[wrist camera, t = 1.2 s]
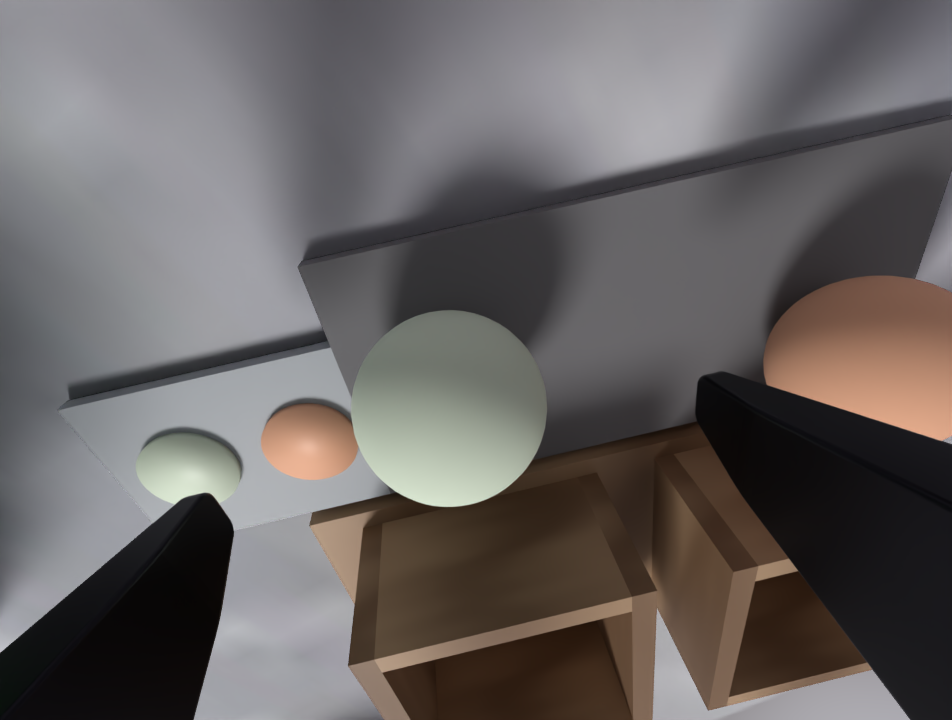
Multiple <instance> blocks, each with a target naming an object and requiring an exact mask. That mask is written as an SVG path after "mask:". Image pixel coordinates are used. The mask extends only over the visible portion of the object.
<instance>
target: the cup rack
mask: <svg viewBox="0 0 952 720" xmlns="http://www.w3.org/2000/svg"><path fill="white" fill-rule="evenodd" d="M309 526H310V528H311V530H312V531H313V533H314V535H315V537H316V538H317V540H318V542H319V543H320V545H321V547H322V549H323V550H324V552H325V554H326V556H327V557H328V559H329V561H330V563H331V564H332V566H333V568H334V569H335V571H336V573H337V575H338V576H339V578H340V580H341V582H342V583H343V585H344V587H345V589H346V590H347V592H348V594H349V595H350V597H351V599H352V601H353V602H354V604H355V607H354V616H353V625H352V635H351V644H350V653H349V663H348V667H349V668H350V670H351V671H352V673H353V674H354V676H355V677H356V679H357V680H358V681H359V683H360V684H361V686H362V687H363V689H364V690H365V692H366V693H367V695H368V696H369V698H370V699H371V701H372V702H373V704H374V705H375V707H376V708H377V710H378V711H379V713H380V714H381V716H382V717H383V719H384V720H652V716H653V691H654V665H655V640H656V614H657V608H658V610H659V612H660V614H661V617H662V619H663V621H664V623H665V625H666V627H667V629H668V631H669V633H670V635H671V637H672V639H673V641H674V643H675V645H676V647H677V649H678V651H679V653H680V655H681V657H682V659H683V661H684V663H685V665H686V667H687V669H688V671H689V673H690V675H691V677H692V679H693V681H694V683H695V685H696V687H697V689H698V691H699V693H700V695H701V697H702V699H703V701H704V703H705V705H706V707H707V709H708V711H709V710H713V709H717V708H721V707H725V706H729V705H733V704H737V703H741V702H745V701H749V700H753V699H757V698H761V697H765V696H769V695H773V694H777V693H781V692H785V691H789V690H793V689H797V688H801V687H804V686H809V685H813V684H816V683H821V682H825V681H828V680H833V679H836V678H841V677H845V676H849V675H852V674H857V673H860V672H864V671H869V670H872V668H871V667H870V666H869V664H868V663H867V662H866V660H865V659H864V658H863V656H862V655H861V654H860V652H859V651H858V650H857V648H856V647H855V646H854V644H853V643H852V642H851V640H850V639H849V638H848V636H847V635H846V634H845V632H844V631H843V630H842V628H841V627H840V626H839V625H838V623H837V622H836V621H835V619H834V618H833V617H832V615H831V614H830V613H829V611H828V610H827V609H826V607H825V606H824V605H823V603H822V602H821V601H820V599H819V598H818V597H817V595H816V594H815V593H814V591H813V590H812V589H811V587H810V586H809V585H808V583H807V582H806V581H805V579H804V578H803V577H802V575H801V574H800V573H799V571H798V570H797V569H796V567H795V566H794V565H793V563H792V562H791V561H790V559H789V558H788V557H787V556H786V554H785V553H784V552H783V550H782V549H781V548H780V546H779V545H778V544H777V542H776V541H775V540H774V538H773V537H772V536H771V534H770V533H769V532H768V530H767V529H766V528H765V526H764V525H763V524H762V522H761V521H760V520H759V518H758V517H757V516H756V514H755V513H754V512H753V510H752V509H751V508H750V506H749V505H748V504H747V502H746V501H745V499H744V498H743V497H742V495H741V494H740V492H739V491H738V489H737V488H736V486H735V484H734V483H733V481H732V480H731V478H730V476H729V475H728V473H727V471H726V470H725V468H724V466H723V465H722V463H721V461H720V460H719V458H718V456H717V455H716V453H715V451H714V450H713V448H712V446H711V445H710V443H709V441H708V439H707V438H706V436H705V434H704V433H703V431H702V429H701V428H700V426H699V424H698V422H697V421H696V422H692V423H688V424H683V425H679V426H675V427H671V428H666V429H662V430H658V431H654V432H650V433H645V434H641V435H637V436H633V437H628V438H624V439H620V440H616V441H612V442H607V443H603V444H599V445H595V446H590V447H586V448H582V449H578V450H573V451H569V452H565V453H561V454H557V455H552V456H548V457H544V458H540V459H535V460H532V461H531V462H530V464H529V466H528V467H527V468H526V470H525V471H524V472H523V473H522V474H521V475H520V476H519V477H518V478H517V479H516V480H515V481H514V482H513V483H512V484H511V485H509V486H508V487H507V488H506V489H504V490H503V491H501V492H500V493H498V494H496V495H494V496H492V497H490V498H488V499H486V500H483V501H481V502H477V503H474V504H470V505H464V506H456V507H440V506H432V505H427V504H423V503H420V502H416V501H414V500H412V499H409V498H407V497H405V496H403V495H401V494H399V493H397V492H396V493H392V494H388V495H383V496H379V497H375V498H371V499H366V500H362V501H358V502H354V503H349V504H345V505H341V506H337V507H333V508H328V509H324V510H320V511H316V512H313V513H312V517H311V521H310V525H309Z"/></svg>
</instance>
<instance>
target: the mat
mask: <svg viewBox="0 0 952 720" xmlns="http://www.w3.org/2000/svg"><path fill="white" fill-rule="evenodd" d="M951 172H952V115H948V116H944V117H939V118H935V119H931V120H926V121H922V122H917V123H913V124H908V125H904V126H899V127H895V128H891V129H886V130H882V131H877V132H873V133H868V134H864V135H860V136H855V137H851V138H846V139H842V140H837V141H833V142H829V143H824V144H820V145H815V146H811V147H806V148H802V149H798V150H793V151H789V152H784V153H780V154H775V155H771V156H767V157H762V158H758V159H753V160H749V161H744V162H740V163H735V164H731V165H727V166H722V167H718V168H713V169H709V170H704V171H700V172H696V173H691V174H687V175H682V176H678V177H673V178H669V179H665V180H660V181H656V182H651V183H647V184H642V185H638V186H634V187H629V188H625V189H620V190H616V191H611V192H607V193H602V194H598V195H594V196H589V197H585V198H580V199H576V200H571V201H567V202H563V203H558V204H554V205H549V206H545V207H540V208H536V209H532V210H527V211H523V212H518V213H514V214H509V215H505V216H501V217H496V218H492V219H487V220H483V221H478V222H474V223H470V224H465V225H461V226H456V227H452V228H447V229H443V230H438V231H434V232H430V233H425V234H421V235H416V236H412V237H407V238H403V239H399V240H394V241H390V242H385V243H381V244H376V245H372V246H368V247H363V248H359V249H354V250H350V251H345V252H341V253H337V254H332V255H328V256H323V257H319V258H314V259H310V260H306V261H301V263H300V264H299V266H298V269H299V272H300V274H301V276H302V279H303V281H304V284H305V286H306V289H307V291H308V294H309V296H310V298H311V301H312V303H313V306H314V308H315V311H316V313H317V315H318V318H319V320H320V323H321V325H322V328H323V330H324V333H325V335H326V337H327V340H328V342H329V345H330V347H331V350H332V352H333V354H334V357H335V359H336V362H337V364H338V367H339V369H340V371H341V374H342V376H343V379H344V381H345V384H346V386H347V389H348V391H349V393H350V396H351V398H352V393H353V387H354V384H355V381H356V378H357V375H358V372H359V369H360V367H361V365H362V363H363V361H364V359H365V358H366V356H367V355H368V353H369V352H370V351H371V349H372V348H373V346H374V345H375V344H376V343H377V342H378V341H379V340H380V339H381V338H382V337H383V336H384V335H385V334H387V333H388V332H389V331H390V330H392V329H393V328H394V327H396V326H397V325H399V324H401V323H402V322H404V321H406V320H408V319H410V318H413V317H415V316H418V315H421V314H425V313H428V312H434V311H442V310H456V311H465V312H470V313H475V314H478V315H481V316H484V317H486V318H489V319H491V320H493V321H495V322H497V323H499V324H501V325H502V326H503V327H505V328H506V329H508V330H509V331H510V332H511V333H513V334H514V335H515V336H516V337H517V338H518V339H519V340H520V341H521V342H522V343H523V344H524V345H525V347H526V348H527V349H528V351H529V352H530V354H531V355H532V357H533V358H534V360H535V362H536V364H537V366H538V368H539V371H540V373H541V376H542V379H543V381H544V386H545V391H546V398H547V416H546V425H545V430H544V434H543V437H542V440H541V443H540V446H539V448H538V450H537V453H536V454H535V456H534V458H533V459H532V460H535V459H540V458H544V457H548V456H552V455H557V454H561V453H565V452H569V451H573V450H578V449H582V448H586V447H590V446H595V445H599V444H603V443H607V442H612V441H616V440H620V439H624V438H628V437H633V436H637V435H641V434H645V433H650V432H654V431H658V430H662V429H666V428H671V427H675V426H679V425H683V424H688V423H692V422H696V421H697V420H696V416H695V404H696V392H697V382H698V380H699V378H700V377H701V376H703V375H706V374H710V373H715V372H719V371H725V372H728V373H731V374H734V375H738V376H741V377H744V378H747V379H750V380H753V381H756V382H759V383H762V384H766V380H765V376H764V366H763V358H764V351H765V347H766V343H767V340H768V337H769V335H770V333H771V331H772V329H773V328H774V326H775V324H776V323H777V321H778V320H779V319H780V318H781V316H782V315H783V314H784V313H785V312H786V311H787V310H788V309H789V308H790V307H791V306H792V305H793V304H795V303H796V302H797V301H799V300H800V299H801V298H803V297H805V296H806V295H808V294H810V293H812V292H813V291H815V290H817V289H819V288H821V287H824V286H826V285H829V284H832V283H835V282H839V281H842V280H846V279H850V278H856V277H864V276H898V277H905V278H912V279H915V277H916V275H917V272H918V269H919V266H920V263H921V260H922V257H923V254H924V251H925V248H926V245H927V242H928V239H929V236H930V233H931V230H932V227H933V224H934V222H935V219H936V216H937V213H938V210H939V207H940V204H941V201H942V198H943V195H944V192H945V189H946V186H947V183H948V180H949V177H950V174H951ZM350 346H351V347H350ZM347 350H348V351H347ZM349 351H350V352H349ZM336 355H337V356H336ZM356 356H357V357H356ZM341 358H342V359H341ZM349 359H350V361H349ZM358 363H359V364H358ZM340 364H341V365H340ZM355 364H356V365H355ZM351 368H352V369H351ZM346 381H347V382H346ZM348 385H349V386H348ZM766 385H767V384H766ZM387 486H388V485H387ZM388 488H389V491H390V493H391V494H392V493H396V491H394V490H393V489H392V488H390V487H389V486H388Z"/></svg>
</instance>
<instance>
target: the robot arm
mask: <svg viewBox="0 0 952 720" xmlns="http://www.w3.org/2000/svg"><path fill="white" fill-rule="evenodd" d="M695 416H696V420H697V422H698V424H699V426H700V428H701V429H702V431H703V433H704V434H705V436H706V438H707V439H708V441H709V443H710V445H711V446H712V448H713V450H714V451H715V453H716V455H717V456H718V458H719V460H720V461H721V463H722V465H723V466H724V468H725V470H726V471H727V473H728V475H729V476H730V478H731V480H732V481H733V483H734V484H735V486H736V488H737V489H738V491H739V492H740V494H741V495H742V497H743V498H744V499H745V501H746V502H747V504H748V505H749V506H750V508H751V509H752V510H753V512H754V513H755V514H756V516H757V517H758V518H759V520H760V521H761V522H762V524H763V525H764V526H765V528H766V529H767V530H768V532H769V533H770V534H771V536H772V537H773V538H774V540H775V541H776V542H777V544H778V545H779V546H780V548H781V549H782V550H783V552H784V553H785V554H786V556H787V557H788V558H789V559H790V561H791V562H792V563H793V565H794V566H795V567H796V569H797V570H798V571H799V573H800V574H801V575H802V577H803V578H804V579H805V581H806V582H807V583H808V585H809V586H810V587H811V589H812V590H813V591H814V593H815V594H816V595H817V597H818V598H819V599H820V601H821V602H822V603H823V605H824V606H825V607H826V609H827V610H828V611H829V613H830V614H831V615H832V617H833V618H834V619H835V621H836V622H837V623H838V625H839V626H840V627H841V628H842V630H843V631H844V632H845V634H846V635H847V636H848V638H849V639H850V640H851V642H852V643H853V644H854V646H855V647H856V648H857V650H858V651H859V652H860V654H861V655H862V656H863V658H864V659H865V660H866V662H867V663H868V664H869V666H870V667H871V668H872V670H873V671H874V672H875V674H876V675H877V676H878V678H879V679H880V680H881V681H882V683H883V684H884V686H885V687H886V688H887V689H888V691H889V692H890V693H891V695H892V696H893V697H894V699H895V700H896V701H897V703H898V704H899V705H900V707H901V708H902V709H903V711H904V712H905V713H906V715H907V716H908V717H909V719H910V720H952V444H950V443H946V442H943V441H940V440H937V439H934V438H931V437H928V436H925V435H921V434H918V433H915V432H912V431H909V430H906V429H903V428H900V427H897V426H893V425H890V424H887V423H884V422H881V421H878V420H875V419H872V418H868V417H865V416H862V415H859V414H856V413H853V412H850V411H847V410H844V409H840V408H837V407H834V406H831V405H828V404H825V403H822V402H819V401H815V400H812V399H809V398H806V397H803V396H800V395H797V394H794V393H791V392H787V391H784V390H781V389H778V388H775V387H772V386H769V385H766V384H762V383H759V382H756V381H753V380H750V379H747V378H744V377H741V376H738V375H734V374H731V373H728V372H725V371H719V372H715V373H710V374H706V375H703V376H701V377H700V378H699V380H698V382H697V392H696V404H695ZM233 537H234V528H233V524H232V522H231V520H230V518H229V517H228V515H227V514H226V513H225V511H224V510H223V508H222V507H221V506H220V504H219V503H218V501H217V500H216V499H215V497H214V496H213V495H212V494H210V493H200V494H196V495H191V496H187V497H185V498H183V499H181V500H180V501H179V502H177V503H176V504H175V505H174V506H173V507H171V508H170V509H169V510H168V511H167V512H166V513H164V514H163V515H162V516H161V517H160V518H159V519H157V520H156V521H155V522H154V523H153V524H151V525H150V526H149V527H148V528H147V529H146V530H144V531H143V532H142V533H141V534H140V535H138V536H137V537H136V538H135V539H134V540H133V541H131V542H130V543H129V544H128V545H127V546H126V547H124V548H123V549H122V550H121V551H120V552H118V553H117V554H116V555H115V556H114V557H113V558H111V559H110V560H109V561H108V562H107V563H106V564H104V565H103V566H102V567H101V568H100V569H98V570H97V571H96V572H95V573H94V574H93V575H91V576H90V577H89V578H88V579H87V580H85V581H84V582H83V583H82V584H81V585H80V586H78V587H77V588H76V589H75V590H74V591H73V592H71V593H70V594H69V595H68V596H67V597H65V598H64V599H63V600H62V601H61V602H60V603H58V604H57V605H56V606H55V607H54V608H53V609H51V610H50V611H49V612H48V613H47V614H45V615H44V616H43V617H42V618H41V619H40V620H38V621H37V622H36V623H35V624H34V625H32V626H31V627H30V628H29V629H28V630H27V631H25V632H24V633H23V634H22V635H21V636H20V637H18V638H17V639H16V640H15V641H14V642H12V643H11V644H10V645H9V646H8V647H7V648H5V649H4V650H3V651H2V652H1V653H0V720H194V716H195V712H196V708H197V705H198V701H199V697H200V693H201V690H202V686H203V682H204V678H205V675H206V671H207V667H208V663H209V660H210V656H211V652H212V648H213V645H214V641H215V637H216V633H217V629H218V625H219V621H220V616H221V610H222V605H223V599H224V593H225V587H226V581H227V574H228V568H229V562H230V556H231V549H232V543H233Z"/></svg>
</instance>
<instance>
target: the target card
mask: <svg viewBox="0 0 952 720" xmlns="http://www.w3.org/2000/svg"><path fill="white" fill-rule="evenodd" d="M350 347H351V346H350ZM347 351H348V350H347ZM349 352H350V351H349ZM336 356H337V355H336ZM356 357H357V356H356ZM341 359H342V358H341ZM349 361H350V359H349ZM358 364H359V363H358ZM340 365H341V364H340ZM355 365H356V364H355ZM351 369H352V368H351ZM346 382H347V381H346ZM348 386H349V385H348ZM351 402H352V398H351V396H350V393H349V391H348V389H347V386H346V384H345V381H344V379H343V376H342V374H341V371H340V369H339V367H338V364H337V362H336V359H335V357H334V354H333V352H332V350H331V347H330V345H329V342H328V341H326V342H322V343H317V344H313V345H309V346H304V347H300V348H296V349H291V350H287V351H282V352H278V353H274V354H269V355H265V356H261V357H256V358H252V359H248V360H243V361H239V362H234V363H230V364H226V365H221V366H217V367H213V368H208V369H204V370H200V371H195V372H191V373H187V374H182V375H178V376H173V377H169V378H165V379H160V380H156V381H152V382H147V383H143V384H139V385H134V386H130V387H125V388H121V389H117V390H112V391H108V392H104V393H99V394H95V395H91V396H86V397H82V398H77V399H73V400H69V401H67V402H66V403H65V404H64V405H62V406H61V407H60V408H59V409H58V410H57V412H58V413H59V414H60V415H61V416H62V417H63V419H64V420H65V421H66V422H67V423H68V424H69V426H70V427H71V428H72V429H73V430H74V432H75V433H76V434H77V435H78V436H79V437H80V439H81V440H82V441H83V442H84V443H85V445H86V446H87V447H88V448H89V449H90V450H91V452H92V453H93V454H94V455H95V456H96V457H97V459H98V460H99V461H100V462H101V463H102V465H103V466H104V467H105V468H106V469H107V470H108V472H109V473H110V474H111V475H112V476H113V478H114V479H115V480H116V481H117V482H118V483H119V485H120V486H121V487H122V488H123V489H124V490H125V492H126V493H127V494H128V495H129V496H130V498H131V499H132V500H133V501H134V502H135V503H136V505H137V506H138V507H139V508H140V509H141V511H142V512H143V513H144V514H145V515H146V516H147V518H148V519H149V520H150V521H151V522H152V523H154V522H155V521H156V520H157V519H159V518H160V517H161V516H162V515H163V514H164V513H166V512H167V511H168V510H169V509H170V508H171V507H173V506H174V505H175V504H176V503H177V502H179V501H180V500H181V499H183V498H185V497H187V496H191V495H196V494H200V493H210V494H212V495H213V496H214V497H215V499H216V500H217V501H218V503H219V504H220V506H221V507H222V508H223V510H224V511H225V513H226V514H227V515H228V517H229V518H230V520H231V522H232V524H233V528H234V531H235V530H240V529H244V528H248V527H252V526H256V525H261V524H265V523H269V522H273V521H278V520H282V519H286V518H290V517H295V516H299V515H303V514H307V513H311V512H316V511H320V510H324V509H328V508H333V507H337V506H341V505H345V504H349V503H354V502H358V501H362V500H366V499H371V498H375V497H379V496H383V495H388V494H391V493H390V491H389V488H388V486H387V484H385V483H384V482H383V481H382V480H381V479H380V478H379V477H378V476H377V475H376V474H375V473H374V471H373V470H372V469H371V467H370V466H369V465H368V463H367V462H366V460H365V459H364V457H363V455H362V453H361V451H360V449H359V446H358V444H357V441H356V438H355V435H354V430H353V424H352V418H351Z"/></svg>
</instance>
